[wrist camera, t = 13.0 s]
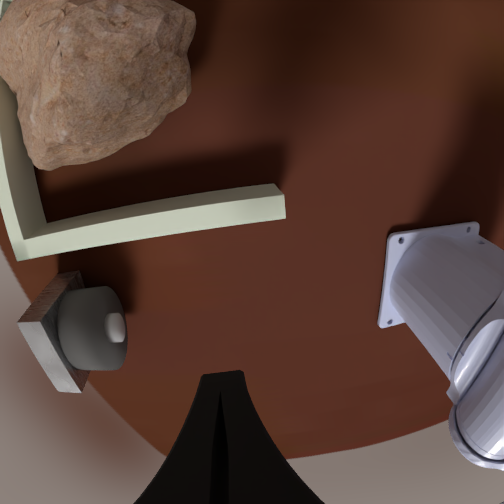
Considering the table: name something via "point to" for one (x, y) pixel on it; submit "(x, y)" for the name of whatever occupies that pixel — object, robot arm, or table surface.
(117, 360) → the wheel
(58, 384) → the axle mount
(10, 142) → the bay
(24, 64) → the stone
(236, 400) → the robot arm
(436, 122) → the table surface
